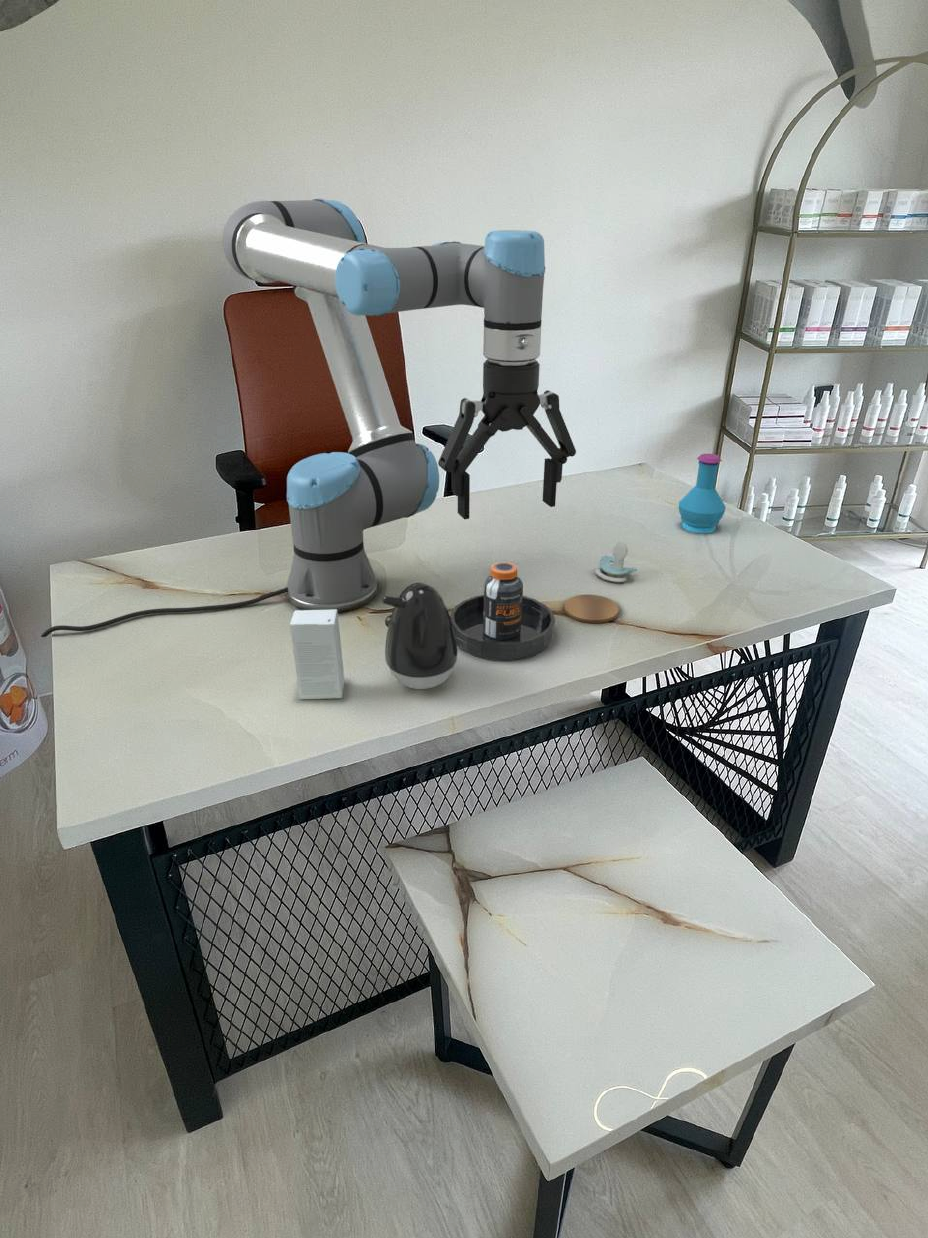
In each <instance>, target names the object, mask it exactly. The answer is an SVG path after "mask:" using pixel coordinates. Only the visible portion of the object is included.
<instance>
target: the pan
mask: <svg viewBox="0 0 928 1238" xmlns="http://www.w3.org/2000/svg"><path fill="white" fill-rule="evenodd" d="M449 615H450V617H451V621H452V624H453V628H454V632H455V638H456V644H457V648H458V649H460V650H461V651H462V652H464V653H467V654H468V655H470V656H473V657H476V658H479V659H484V660H491V661H502V662H506V661H507V662H509V661H510V662H511V661H519V660H524V659H525V660H526V659H529V658H531V657H534V656H537V655H539V654H541V653H543V652H545V651H546V650H547V649H548V648H549V647H550V646H551V644H552V643H553V640H554V637H555V630H556V629H555V626H556V619H555V615H554V612H553V611H552V610H551V608H549V607H548V605H546V604H544V603H543V602H541V601H540V600H537V599H536V598H532V597H529V596H525V595H523V598H522V615H521V631H520V633H519V634H518V635H517V636H516V637H514V638H511V639H505V640H501V639H495V638H492V637H489V636H488V635H486V634H485V632H484V630H483V617H484V594H479V595H475V596H471V597H470V598H466V599H463V600H462V601H461V602H459V603H458V604H457V605H455V606H454V608H453V609H452V611H451V612H450V613H449Z"/></svg>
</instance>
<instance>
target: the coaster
mask: <svg viewBox="0 0 928 1238" xmlns="http://www.w3.org/2000/svg"><path fill="white" fill-rule="evenodd" d="M563 610H564V612H565V614H566V615H567V616H568V617H570V618H571V619H573V620H576V621H579V622H583V623H588V624H601V623H602V624H603V623H608V622H610V621H613V620H614V619H616V618H617V617H618V615H619V613H620V608H619V605H618V603H616V602H615V601H614V600H612V599H610V598H608V597H605V596H603V595H597V594H579V595H578V594H577V595H575V596H572V597H570V598H567V600H566V601H565V602H564V604H563Z"/></svg>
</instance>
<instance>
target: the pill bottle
mask: <svg viewBox="0 0 928 1238" xmlns="http://www.w3.org/2000/svg"><path fill="white" fill-rule="evenodd" d="M483 585H484V586H483V595H484V617H483V630H484V632H485V634H486V635H488V636H489V637H492V638H495V639H501V640H505V639H511V638H514V637H516V636H517V635H518V634H519V633H520V631H521V615H522V598H523V596H524V584H523V580H522V579H521V578H520V577H519V576H518V566H517V565H516V564H514V563H512V562H508V561H498V562H495V563H493V564H492V565H491V567H490V575H489V576H488V577H486V579H485V581H484V584H483Z"/></svg>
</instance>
